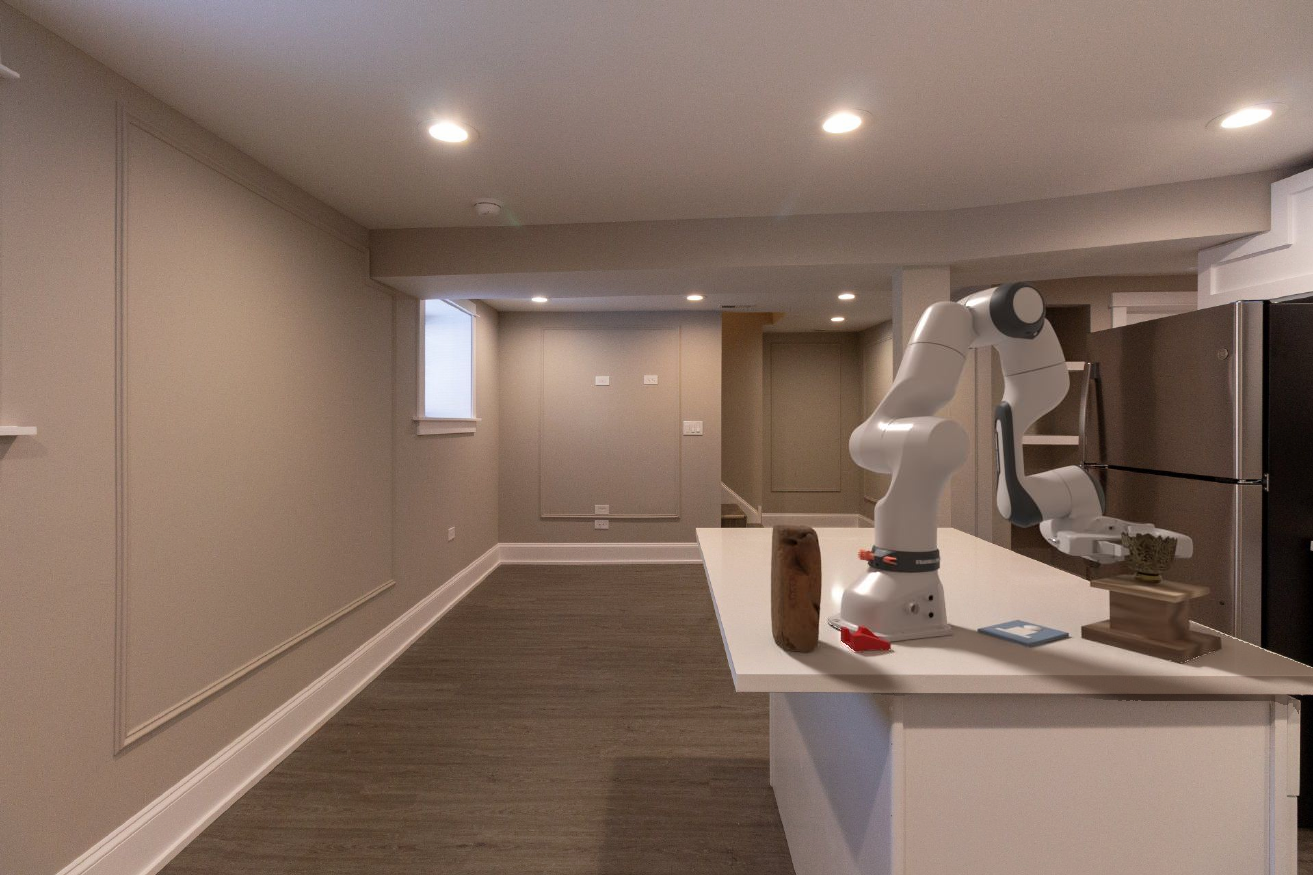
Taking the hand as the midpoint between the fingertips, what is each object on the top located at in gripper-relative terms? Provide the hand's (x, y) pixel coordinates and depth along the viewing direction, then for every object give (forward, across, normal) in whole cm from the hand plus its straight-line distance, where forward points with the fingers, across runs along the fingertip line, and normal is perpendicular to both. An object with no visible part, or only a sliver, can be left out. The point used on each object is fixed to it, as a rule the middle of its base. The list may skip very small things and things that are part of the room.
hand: (1151, 552), depth 101 cm
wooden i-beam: (-1, 0, +16) cm, 16 cm away
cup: (-1, 0, +6) cm, 6 cm away
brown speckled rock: (+7, -60, +16) cm, 62 cm away
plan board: (-3, -19, +16) cm, 25 cm away
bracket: (+6, -48, +16) cm, 51 cm away
